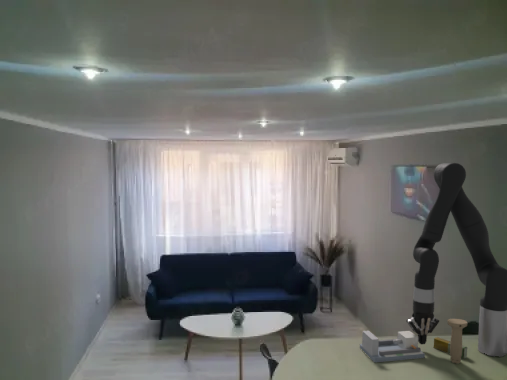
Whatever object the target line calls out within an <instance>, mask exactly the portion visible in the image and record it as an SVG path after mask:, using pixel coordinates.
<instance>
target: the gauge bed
mask: <svg viewBox="0 0 507 380" xmlns="http://www.w3.org/2000/svg"><path fill="white" fill-rule="evenodd" d="M361 333H362V335H361V337H362V338H361V339H362V340H361V343H360V344H359V349H360V348H361V349H362V350H363V351H364V352H365V353H366V354H367V355H368V356H369V357H370V358H369V357H368V358H369V359H370V360H371V361H373V363H379V362H380V363H381V362H383V363H384V362H393V361H403V360H405V361H406V360H414V359H425V358H426V353H425V352H423V351H422V350H421V347H419V346H418V347H417V348H416V349H414V348H406V349H402V348H401V347H400V346H399V345H397V344H394V343H393V340H396V339H397V338H393V339H380V340H379V338H378V337H377V336H376V335H375V334H374V333H372V332H371V331H370V330H362V332H361ZM361 349H360V350H361ZM362 350H361V351H362ZM363 351H362V352H363ZM364 352H363V353H364ZM365 353H364V354H365ZM366 354H365V355H366ZM367 355H366V356H367Z"/></svg>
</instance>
